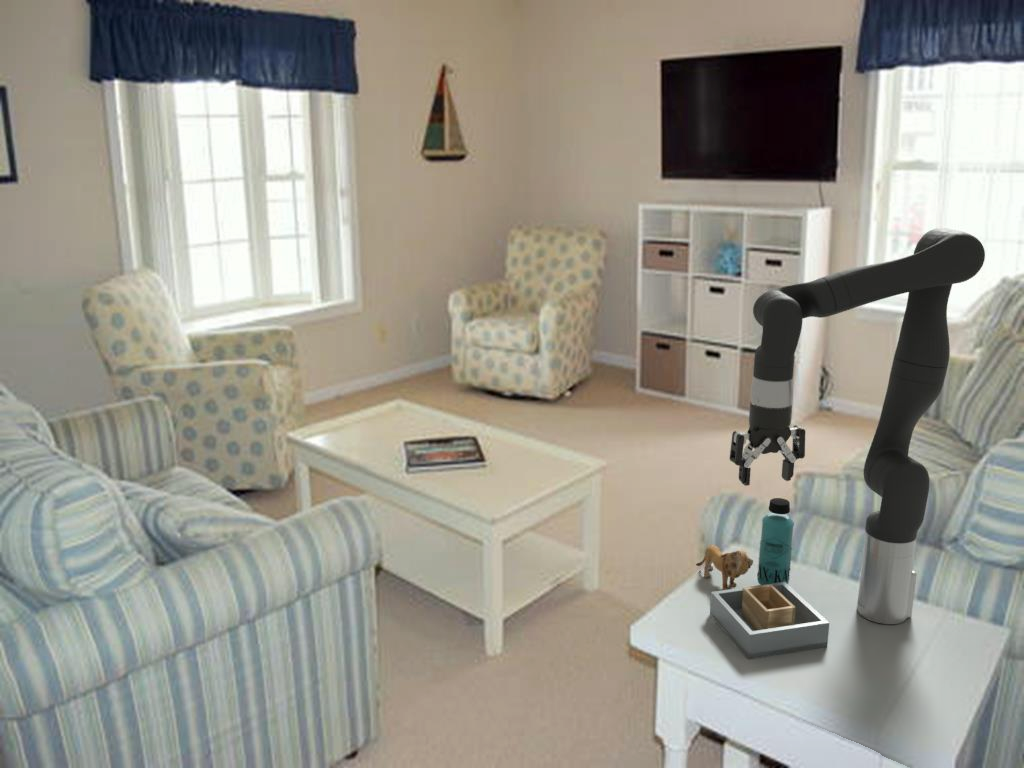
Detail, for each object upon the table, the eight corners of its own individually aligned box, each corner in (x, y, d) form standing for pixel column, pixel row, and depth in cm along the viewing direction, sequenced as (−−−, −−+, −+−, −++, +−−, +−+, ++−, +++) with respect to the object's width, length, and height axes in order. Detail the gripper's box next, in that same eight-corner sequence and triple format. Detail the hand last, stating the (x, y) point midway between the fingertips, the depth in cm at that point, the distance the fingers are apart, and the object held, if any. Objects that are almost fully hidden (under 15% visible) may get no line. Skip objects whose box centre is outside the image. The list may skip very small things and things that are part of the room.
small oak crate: (769, 611, 180) (771, 584, 178) (793, 635, 172) (795, 607, 170) (741, 615, 179) (743, 588, 177) (764, 640, 170) (766, 611, 169)
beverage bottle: (754, 580, 194) (760, 493, 188) (786, 582, 193) (793, 494, 188) (758, 596, 188) (764, 506, 182) (791, 598, 187) (798, 507, 181)
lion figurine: (755, 591, 190) (757, 551, 187) (737, 598, 187) (739, 558, 185) (704, 563, 202) (706, 526, 199) (686, 570, 199) (688, 532, 196)
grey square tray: (783, 604, 185) (784, 581, 183) (827, 646, 170) (829, 622, 168) (709, 614, 181) (711, 592, 180) (748, 659, 166) (750, 634, 165)
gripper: (795, 391, 174) (789, 471, 178) (726, 397, 171) (722, 478, 175) (817, 402, 167) (810, 485, 171) (745, 409, 164) (740, 493, 168)
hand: (765, 481), depth 173 cm, fingers open, 8 cm apart
